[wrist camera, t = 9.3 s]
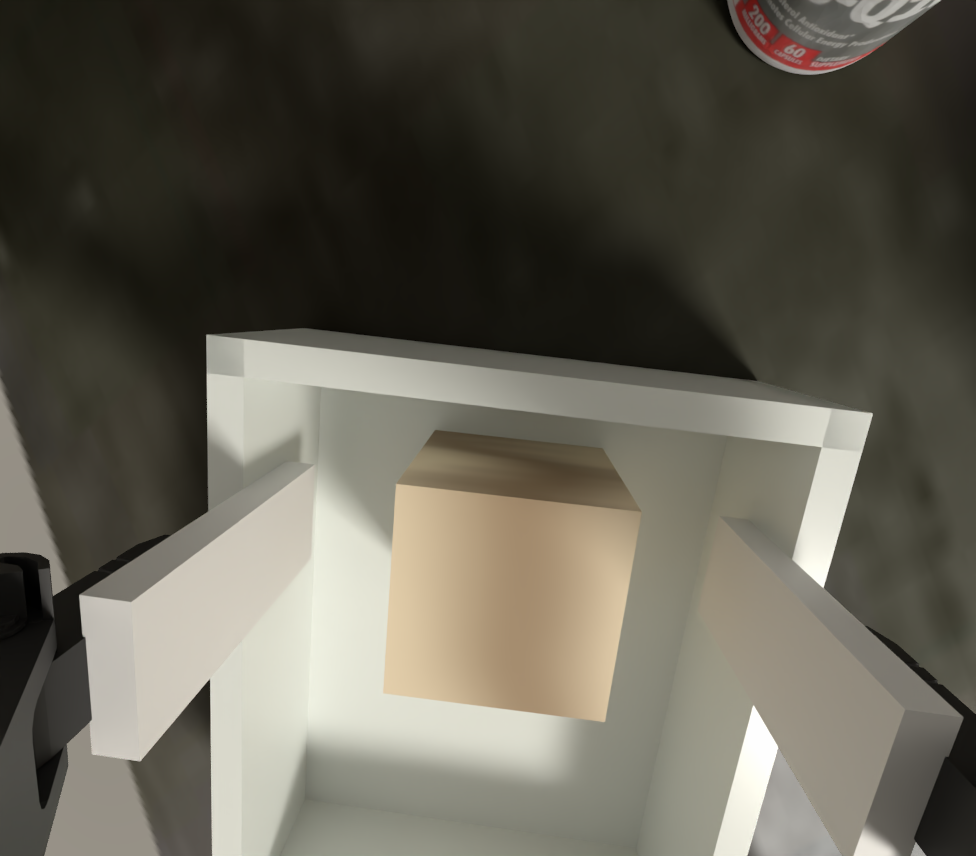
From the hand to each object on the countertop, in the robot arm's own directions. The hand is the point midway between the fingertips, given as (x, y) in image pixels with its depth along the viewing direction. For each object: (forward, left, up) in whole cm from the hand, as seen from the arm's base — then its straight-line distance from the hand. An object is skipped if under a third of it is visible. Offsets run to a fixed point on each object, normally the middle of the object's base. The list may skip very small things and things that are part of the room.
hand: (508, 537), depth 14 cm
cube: (0, 0, -2) cm, 2 cm away
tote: (+4, 0, -3) cm, 5 cm away
